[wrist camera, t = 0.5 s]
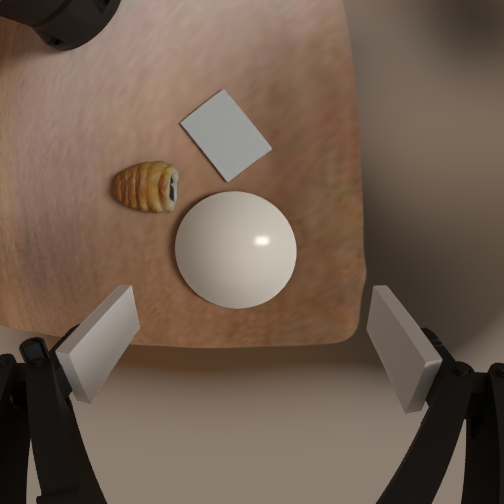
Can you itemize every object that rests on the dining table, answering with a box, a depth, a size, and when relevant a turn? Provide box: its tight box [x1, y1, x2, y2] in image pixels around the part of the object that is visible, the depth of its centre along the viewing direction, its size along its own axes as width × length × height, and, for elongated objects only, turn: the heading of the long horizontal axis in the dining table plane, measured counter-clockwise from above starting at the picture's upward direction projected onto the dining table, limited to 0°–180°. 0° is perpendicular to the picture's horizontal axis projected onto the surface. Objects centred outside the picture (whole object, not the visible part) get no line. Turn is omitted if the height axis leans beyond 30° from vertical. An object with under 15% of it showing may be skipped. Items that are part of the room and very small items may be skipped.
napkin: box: [181, 89, 272, 182], centre depth 36 cm, size 10×7×1 cm
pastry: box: [112, 161, 178, 213], centre depth 37 cm, size 9×7×4 cm
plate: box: [175, 191, 296, 308], centre depth 40 cm, size 16×16×1 cm
